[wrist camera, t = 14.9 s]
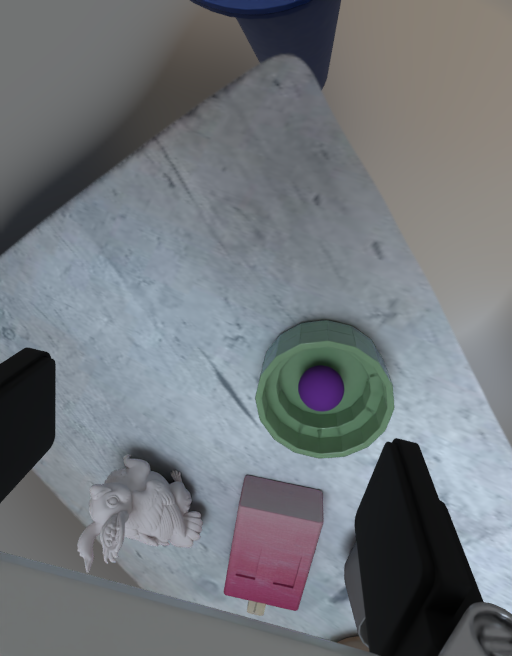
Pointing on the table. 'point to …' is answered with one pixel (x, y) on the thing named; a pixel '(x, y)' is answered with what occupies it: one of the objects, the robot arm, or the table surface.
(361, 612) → the cup
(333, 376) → the ball
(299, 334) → the green bowl
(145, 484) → the figurine
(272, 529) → the popsicle
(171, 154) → the table surface
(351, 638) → the bowl
